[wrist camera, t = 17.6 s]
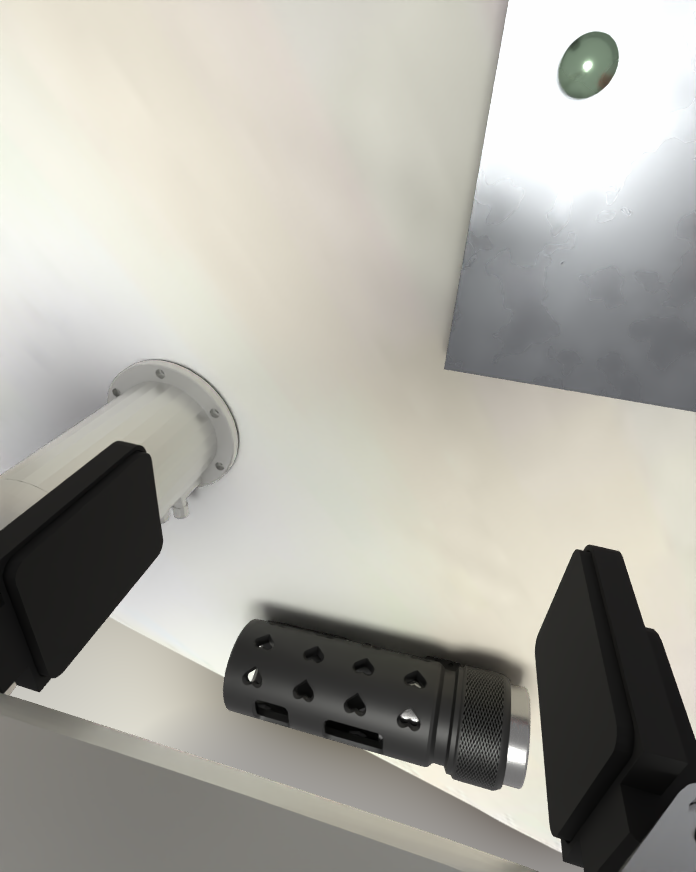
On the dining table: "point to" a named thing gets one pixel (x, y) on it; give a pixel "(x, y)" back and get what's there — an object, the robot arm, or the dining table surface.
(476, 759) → the muzzle brake
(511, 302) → the board
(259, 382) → the dining table surface
